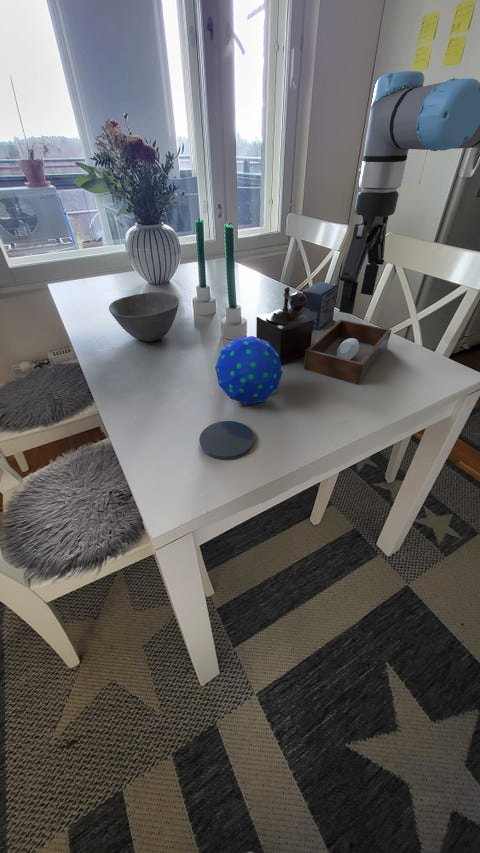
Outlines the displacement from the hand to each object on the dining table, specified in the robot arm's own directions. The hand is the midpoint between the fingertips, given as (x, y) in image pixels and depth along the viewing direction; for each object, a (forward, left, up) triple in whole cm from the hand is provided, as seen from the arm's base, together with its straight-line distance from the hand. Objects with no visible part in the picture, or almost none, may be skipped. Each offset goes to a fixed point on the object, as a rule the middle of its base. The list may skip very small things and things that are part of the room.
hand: (356, 302), depth 79 cm
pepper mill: (+13, +7, -14) cm, 20 cm away
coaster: (+7, +42, -14) cm, 45 cm away
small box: (+16, -17, -14) cm, 27 cm away
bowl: (+52, +17, -14) cm, 56 cm away
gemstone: (0, 0, -14) cm, 14 cm away
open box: (0, 0, -14) cm, 14 cm away
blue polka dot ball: (+12, +27, -14) cm, 33 cm away
